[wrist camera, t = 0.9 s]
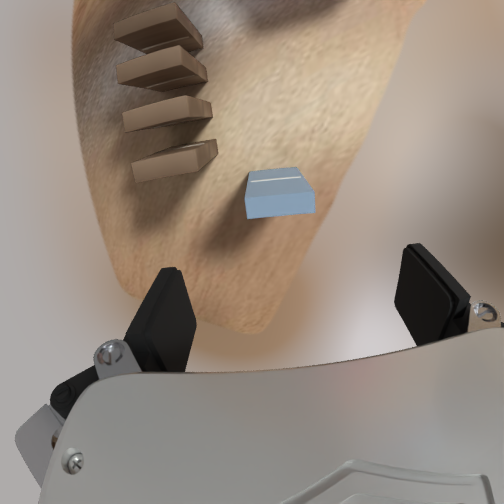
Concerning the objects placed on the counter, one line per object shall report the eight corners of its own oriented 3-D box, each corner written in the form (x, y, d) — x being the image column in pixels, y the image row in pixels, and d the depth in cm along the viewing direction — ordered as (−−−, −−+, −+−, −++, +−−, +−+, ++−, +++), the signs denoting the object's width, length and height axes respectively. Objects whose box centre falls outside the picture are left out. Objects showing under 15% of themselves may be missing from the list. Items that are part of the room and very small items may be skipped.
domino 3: (165, 111, 25) (121, 112, 16) (210, 102, 25) (185, 94, 16) (167, 126, 26) (125, 133, 17) (212, 117, 25) (188, 117, 17)
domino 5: (249, 171, 28) (244, 197, 19) (296, 166, 28) (314, 191, 19) (251, 186, 29) (247, 219, 20) (297, 181, 28) (315, 213, 20)
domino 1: (156, 47, 21) (113, 23, 12) (201, 35, 21) (174, 1, 12) (158, 59, 22) (114, 40, 13) (203, 48, 22) (176, 18, 13)
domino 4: (170, 146, 27) (130, 162, 18) (216, 138, 26) (193, 149, 18) (173, 161, 28) (135, 184, 19) (218, 153, 27) (197, 172, 18)
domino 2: (160, 78, 23) (116, 64, 14) (205, 67, 23) (179, 44, 14) (162, 92, 24) (118, 84, 15) (207, 82, 24) (181, 65, 15)
